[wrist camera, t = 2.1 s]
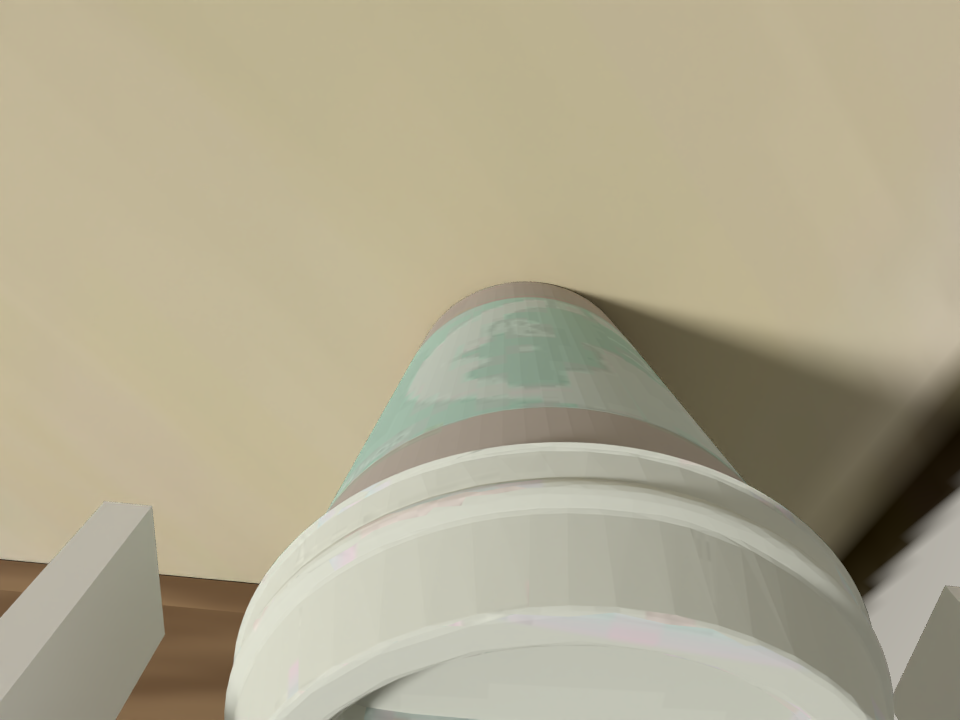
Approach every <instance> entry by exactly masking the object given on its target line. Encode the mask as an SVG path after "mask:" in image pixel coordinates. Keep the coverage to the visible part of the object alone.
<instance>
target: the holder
mask: <svg viewBox="0 0 960 720" xmlns="http://www.w3.org/2000/svg"><path fill="white" fill-rule="evenodd" d="M47 565H48V564H39V563H28V562H18V561H7V560H0V618H1V617H2V615H3V614H4V613H5V612H6V611H7V610H8V609H9V608H10V606H11V605H12V604H13V603H14V602H15V601H16V600H17V599H18V597H19V596H20V595H21V594H22V593H23V592H24V591H25V590H26V589H27V587H28V586H29V585H30V584H31V583H32V582H33V581H34V580H35V578H36V577H37V576H38V575H39V574H40V573H41V572H42V571H43V569H44V568H45V567H46V566H47ZM159 580H160V590H161V600H162V610H163V620H164V630H165V635H164V637H163V638H162V640H161V642H160V644H159V645H158V647H157V649H156V651H155V652H154V654H153V656H152V657H151V659H150V661H149V663H148V664H147V666H146V668H145V670H144V671H143V673H142V675H141V676H140V678H139V680H138V682H137V683H136V685H135V687H134V689H133V690H132V692H131V694H130V695H129V697H128V699H127V701H126V702H125V704H124V706H123V708H122V709H121V711H120V713H119V714H118V716H117V718H116V720H224V710H225V701H226V691H227V687H228V682H229V678H230V673H231V670H232V667H233V662H234V653H235V647H236V641H237V637H238V633H239V629H240V626H241V623H242V620H243V617H244V615H245V612H246V610H247V607H248V605H249V603H250V601H251V599H252V597H253V595H254V593H255V591H256V589H257V587H258V586H259V584H249V583H239V582H228V581H218V580H207V579H197V578H186V577H176V576H165V575H159Z"/></svg>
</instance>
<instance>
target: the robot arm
mask: <svg viewBox="0 0 960 720" xmlns="http://www.w3.org/2000/svg"><path fill="white" fill-rule="evenodd" d="M164 635H165V630H164V620H163V610H162V600H161V590H160V580H159V570H158V560H157V550H156V540H155V530H154V520H153V510H152V506H148V505H138V504H128V503H118V502H108V501H104V502H103V503H102V505H101V506H100V507H99V508H98V509H97V510H96V511H95V512H94V513H93V515H92V516H91V517H90V518H89V519H88V520H87V521H86V522H85V524H84V525H83V526H82V527H81V528H80V529H79V530H78V531H77V533H76V534H75V535H74V536H73V537H72V538H71V539H70V540H69V541H68V543H67V544H66V545H65V546H64V547H63V548H62V549H61V550H60V552H59V553H58V554H57V555H56V556H55V557H54V558H53V559H52V561H51V562H50V563H49V564H48V565H47V566H46V567H45V568H44V569H43V571H42V572H41V573H40V574H39V575H38V576H37V577H36V578H35V580H34V581H33V582H32V583H31V584H30V585H29V586H28V587H27V589H26V590H25V591H24V592H23V593H22V594H21V595H20V596H19V597H18V599H17V600H16V601H15V602H14V603H13V604H12V605H11V606H10V608H9V609H8V610H7V611H6V612H5V613H4V614H3V615H2V617H1V618H0V720H116V718H117V716H118V714H119V713H120V711H121V709H122V708H123V706H124V704H125V702H126V701H127V699H128V697H129V695H130V694H131V692H132V690H133V689H134V687H135V685H136V683H137V682H138V680H139V678H140V676H141V675H142V673H143V671H144V670H145V668H146V666H147V664H148V663H149V661H150V659H151V657H152V656H153V654H154V652H155V651H156V649H157V647H158V645H159V644H160V642H161V640H162V638H163V637H164ZM893 700H894V714H895V715H896V717H897V718H898V720H960V587H953V586H945V587H944V589H943V591H942V593H941V596H940V597H939V600H938V602H937V604H936V606H935V608H934V610H933V612H932V614H931V616H930V618H929V620H928V623H927V625H926V627H925V629H924V631H923V633H922V635H921V637H920V639H919V641H918V643H917V646H916V648H915V650H914V652H913V654H912V656H911V658H910V660H909V663H908V664H907V667H906V669H905V671H904V673H903V675H902V677H901V679H900V681H899V683H898V685H897V687H896V689H895V692H894V694H893Z"/></svg>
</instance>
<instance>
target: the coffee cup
mask: <svg viewBox="0 0 960 720" xmlns="http://www.w3.org/2000/svg"><path fill="white" fill-rule="evenodd" d="M224 720H894V700H893V689H892V683H891V677H890V673H889V669H888V665H887V662H886V659H885V656H884V653H883V650H882V648H881V646H880V643H879V641H878V639H877V636H876V634H875V632H874V630H873V629H872V626H871V622H870V619H869V615H868V612H867V609H866V607H865V604H864V602H863V599H862V597H861V595H860V593H859V591H858V589H857V587H856V585H855V583H854V581H853V580H852V578H851V576H850V575H849V573H848V572H847V570H846V568H845V567H844V566H843V564H842V563H841V561H840V560H839V559H838V557H837V556H836V555H835V554H834V552H833V551H832V550H831V549H830V548H829V547H828V545H827V544H826V543H825V542H824V541H823V540H822V539H821V538H820V537H819V536H818V535H817V534H816V533H815V532H814V531H813V530H812V529H811V528H810V527H809V526H807V525H806V524H805V523H804V522H803V521H802V520H800V519H799V518H798V517H797V516H795V515H794V514H793V513H792V512H790V511H789V510H788V509H786V508H785V507H783V506H782V505H781V504H779V503H777V502H776V501H774V500H773V499H771V498H770V497H768V496H766V495H765V494H763V493H761V492H760V491H758V490H756V489H754V488H752V487H751V486H749V485H747V484H746V482H745V481H744V480H743V479H742V478H741V476H740V475H739V474H738V473H737V471H736V470H735V469H734V468H733V467H732V465H731V464H730V463H729V462H728V461H727V459H726V458H725V457H724V456H723V455H722V453H721V452H720V451H719V450H718V449H717V447H716V446H715V445H714V444H713V442H712V441H711V440H710V439H709V438H708V436H707V435H706V434H705V433H704V432H703V430H702V429H701V428H700V427H699V426H698V424H697V423H696V422H695V421H694V419H693V418H692V417H691V416H690V415H689V413H688V412H687V411H686V410H685V409H684V407H683V406H682V405H681V404H680V403H679V401H678V400H677V399H676V398H675V396H674V395H673V394H672V393H671V392H670V390H669V389H668V388H667V387H666V386H665V384H664V383H663V382H662V381H661V380H660V378H659V377H658V376H657V375H656V374H655V372H654V371H653V370H652V369H651V367H650V366H649V365H648V364H647V363H646V361H645V360H644V359H643V358H642V357H641V355H640V354H639V353H638V352H637V351H636V349H635V348H634V347H633V346H632V344H631V343H630V342H629V341H628V340H627V339H626V338H625V337H624V335H623V334H622V333H621V332H620V331H619V329H618V328H617V327H616V326H615V325H614V324H613V322H612V321H611V320H610V319H609V318H608V317H607V316H606V315H605V314H604V313H603V312H602V311H601V310H600V309H599V308H598V307H597V306H595V305H594V304H593V303H591V302H590V301H589V300H587V299H585V298H584V297H582V296H580V295H578V294H576V293H574V292H572V291H570V290H567V289H565V288H561V287H558V286H554V285H550V284H545V283H538V282H512V283H505V284H500V285H495V286H492V287H488V288H485V289H483V290H480V291H478V292H475V293H473V294H471V295H469V296H467V297H465V298H464V299H462V300H461V301H459V302H458V303H456V304H455V305H454V306H452V307H451V308H450V309H449V310H448V311H446V312H445V313H444V314H443V315H442V316H441V317H440V318H439V319H438V321H437V322H436V323H435V324H434V326H433V327H432V328H431V330H430V331H429V333H428V335H427V336H426V338H425V340H424V341H423V343H422V345H421V347H420V348H419V350H418V352H417V353H416V355H415V357H414V358H413V360H412V362H411V364H410V365H409V367H408V369H407V371H406V372H405V374H404V376H403V378H402V379H401V381H400V383H399V385H398V387H397V388H396V390H395V392H394V394H393V395H392V397H391V399H390V401H389V402H388V404H387V406H386V408H385V410H384V411H383V413H382V415H381V417H380V418H379V420H378V422H377V424H376V425H375V427H374V429H373V431H372V433H371V434H370V436H369V438H368V440H367V441H366V443H365V445H364V447H363V448H362V450H361V452H360V454H359V456H358V457H357V459H356V461H355V463H354V464H353V466H352V468H351V470H350V472H349V473H348V475H347V477H346V479H345V480H344V482H343V484H342V486H341V487H340V489H339V491H338V493H337V495H336V496H335V498H334V500H333V502H332V503H331V505H330V507H329V509H328V510H327V512H326V514H324V515H323V516H322V517H320V518H319V519H318V520H317V521H315V522H314V523H313V524H312V525H310V526H309V527H308V528H307V529H306V530H305V531H304V532H302V533H301V534H300V535H299V536H298V537H297V538H296V539H295V540H294V541H293V542H292V543H291V544H290V545H289V546H288V547H287V548H286V549H285V551H284V552H283V553H282V554H281V555H280V556H279V557H278V559H277V560H276V561H275V562H274V564H273V565H272V566H271V568H270V569H269V570H268V572H267V573H266V575H265V576H264V578H263V579H262V581H261V582H260V584H259V586H258V587H257V589H256V591H255V593H254V595H253V597H252V599H251V601H250V603H249V605H248V607H247V610H246V612H245V615H244V617H243V620H242V623H241V626H240V629H239V633H238V637H237V641H236V647H235V653H234V662H233V667H232V670H231V673H230V678H229V682H228V687H227V691H226V701H225V710H224Z"/></svg>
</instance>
